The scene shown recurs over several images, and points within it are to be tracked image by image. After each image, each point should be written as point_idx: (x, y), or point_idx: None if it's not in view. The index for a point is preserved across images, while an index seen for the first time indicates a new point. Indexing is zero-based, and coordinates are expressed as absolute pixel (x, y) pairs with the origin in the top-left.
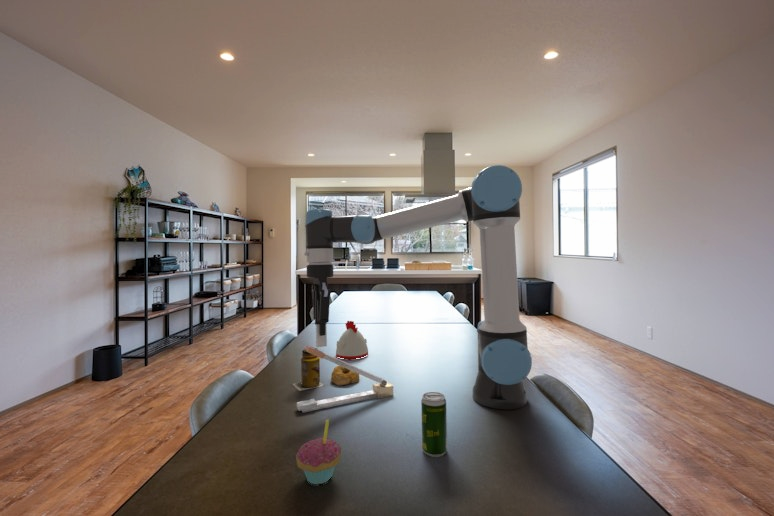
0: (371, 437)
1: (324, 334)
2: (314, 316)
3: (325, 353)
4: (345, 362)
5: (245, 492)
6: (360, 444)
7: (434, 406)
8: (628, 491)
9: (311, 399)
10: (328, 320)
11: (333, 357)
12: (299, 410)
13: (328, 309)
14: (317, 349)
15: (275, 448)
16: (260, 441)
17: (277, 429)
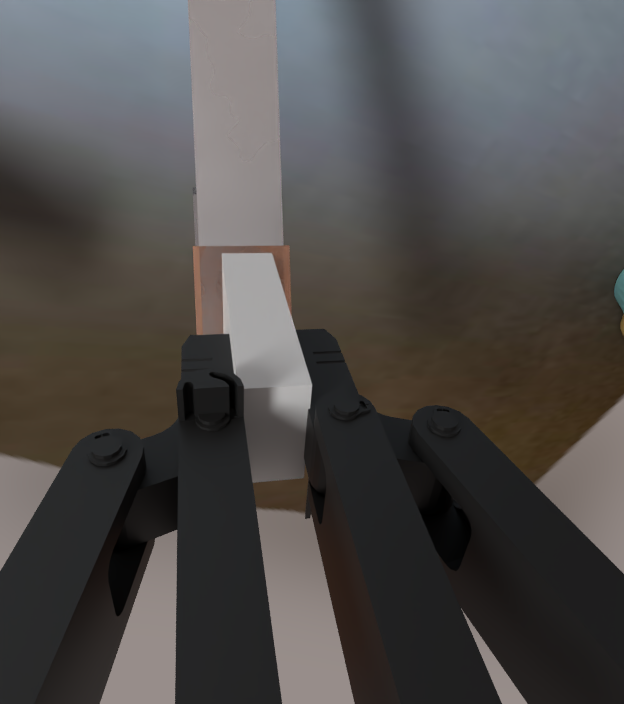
0: (604, 53)
1: (330, 342)
2: (146, 556)
3: (227, 226)
4: (219, 8)
5: (563, 412)
6: (608, 117)
7: None
8: None
9: (195, 209)
10: (471, 424)
11: (250, 151)
12: None
13: (604, 566)
14: (200, 299)
15: (444, 355)
16: (380, 387)
17: None
